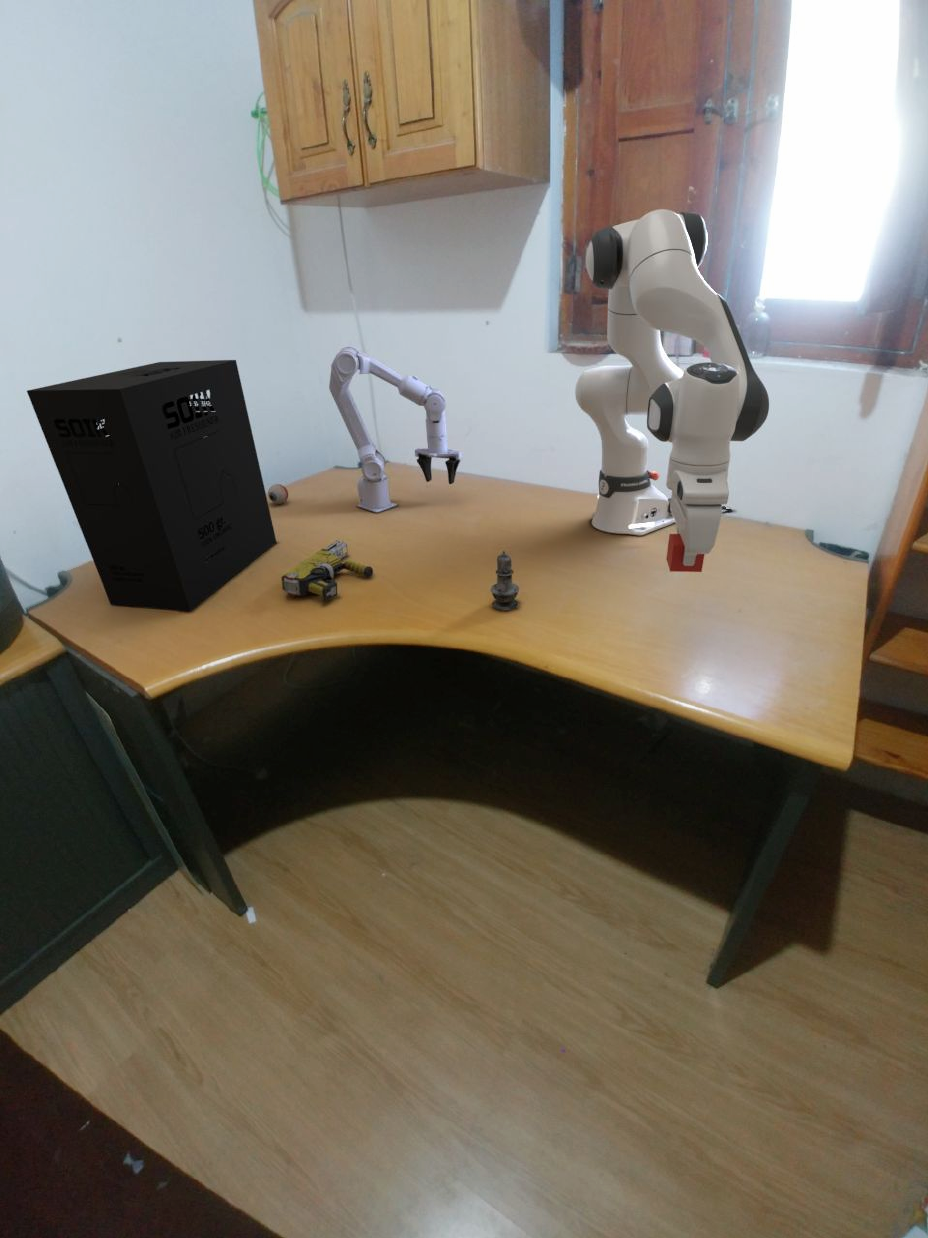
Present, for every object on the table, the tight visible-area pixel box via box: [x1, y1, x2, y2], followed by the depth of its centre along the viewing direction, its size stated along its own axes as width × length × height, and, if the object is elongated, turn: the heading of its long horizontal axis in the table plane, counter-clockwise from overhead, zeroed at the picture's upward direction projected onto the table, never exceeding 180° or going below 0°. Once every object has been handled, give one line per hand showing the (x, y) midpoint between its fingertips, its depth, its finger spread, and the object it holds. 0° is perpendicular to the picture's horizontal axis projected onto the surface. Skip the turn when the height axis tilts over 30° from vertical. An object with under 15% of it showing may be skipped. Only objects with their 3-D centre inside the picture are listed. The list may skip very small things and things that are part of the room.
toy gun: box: [281, 539, 374, 603], centre depth 138 cm, size 5×24×15 cm
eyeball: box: [267, 483, 289, 505], centre depth 187 cm, size 6×6×6 cm
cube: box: [665, 533, 705, 573], centre depth 101 cm, size 5×5×5 cm
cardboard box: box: [26, 359, 277, 612], centre depth 135 cm, size 38×20×45 cm, turn 167°
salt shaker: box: [490, 550, 520, 611], centre depth 121 cm, size 6×6×12 cm
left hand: (440, 481), depth 179 cm, fingers open, 7 cm apart
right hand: (684, 556), depth 102 cm, fingers closed on cube, 5 cm apart
